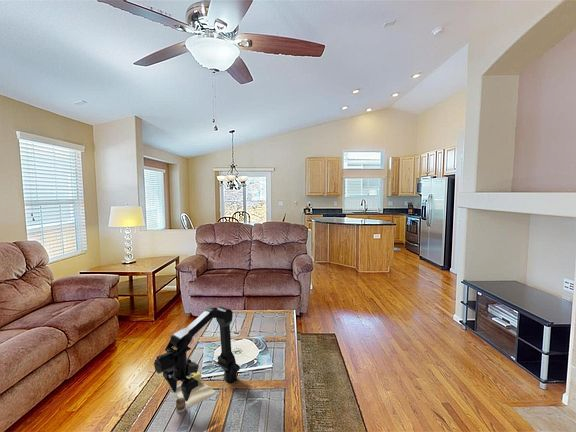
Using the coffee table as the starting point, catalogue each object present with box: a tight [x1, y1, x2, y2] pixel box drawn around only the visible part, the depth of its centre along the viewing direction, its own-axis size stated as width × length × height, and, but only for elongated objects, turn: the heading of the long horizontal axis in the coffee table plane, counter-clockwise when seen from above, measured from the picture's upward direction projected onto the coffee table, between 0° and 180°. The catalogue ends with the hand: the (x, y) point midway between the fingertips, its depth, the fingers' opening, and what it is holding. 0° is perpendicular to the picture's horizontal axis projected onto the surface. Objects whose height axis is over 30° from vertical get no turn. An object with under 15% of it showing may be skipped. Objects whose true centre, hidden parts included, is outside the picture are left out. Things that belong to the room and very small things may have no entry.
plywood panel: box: [169, 379, 217, 408], centre depth 152 cm, size 20×14×1 cm
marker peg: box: [175, 397, 186, 414], centre depth 138 cm, size 4×4×5 cm
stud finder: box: [186, 370, 202, 383], centre depth 157 cm, size 4×7×5 cm, turn 134°
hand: (180, 396), depth 138 cm, fingers open, 9 cm apart
